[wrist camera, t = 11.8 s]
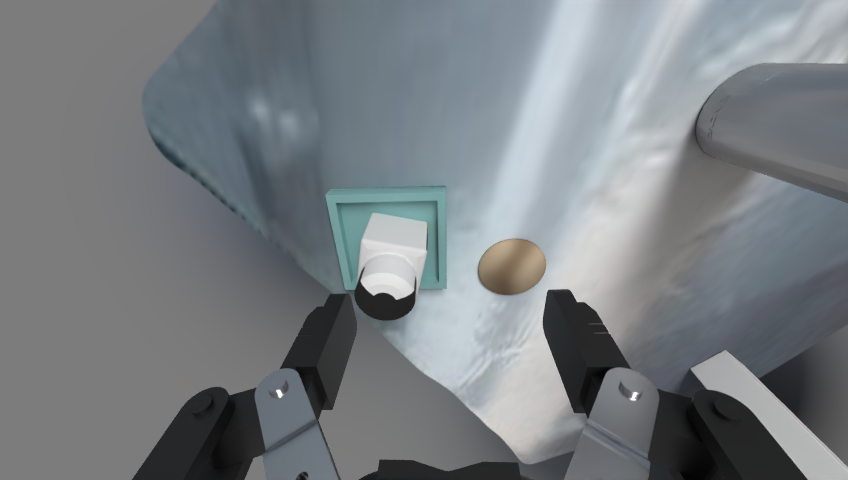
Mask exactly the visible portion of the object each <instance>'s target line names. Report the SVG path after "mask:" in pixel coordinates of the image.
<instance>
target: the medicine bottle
mask: <svg viewBox="0 0 848 480" xmlns="http://www.w3.org/2000/svg"><path fill="white" fill-rule="evenodd" d="M427 246H428V223H427V222H424V221H419V220H413V219H408V218H402V217H397V216H391V215H386V214H380V213H372V215H371V217H370V220H369V222H368V225H367V227H366V230H365V232H364V234H363V237H362V239H361V244H360V255H359V265H358V275H357V285H356V288H355V300H356V303H357V305H358V306H359V308H360V309H361V310H362V311H363V312H364V313H366V314H367V315H369V316H370V317H372V318H375V319H379V320H395V319H399V318H401V317H403V316H405V315H406V314H408V313H409V312H410V311H411V310H412V308H413V306H414V304H415V300H416V299H417V295H418V291H419V287H420V282H421V278H422V274H423V269H424V265H425V260H426V256H427Z"/></svg>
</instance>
